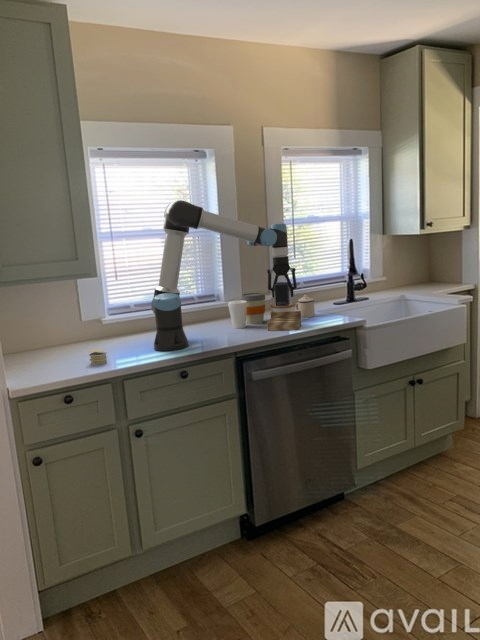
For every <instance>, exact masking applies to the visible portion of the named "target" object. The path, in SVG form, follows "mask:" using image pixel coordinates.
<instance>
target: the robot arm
mask: <svg viewBox="0 0 480 640" xmlns="http://www.w3.org/2000/svg"><path fill="white" fill-rule="evenodd" d="M163 214H164V216H163V217H164V221H163V227H162V229H163V231H164V233H165V237H164V238H165V239H164V246H163V253H162V259H161V267H160V273H159V281H158V285H157V286H156V287H155V288H154V294H153V299H152V301H151V310H152V313H153V314H154V318H155V326H156V328H155V329H156V333H155V337H154V342H153V347H154V348H153V349H154V350H155V351H159V352H160V351H161V352H171V351H178V350H183V349H185V348H188V347H189V340H188V337H187V335H186V333H185V329H184V325H183V314H182V313H183V312H182V300H181V296H180V295H181V292H180V290H179V289H178V287H179V285H178V284H179V278H180V273H181V272H180V271H181V267H182V266H181V263H182V258H183V250H184V243H185V238H186V236H187V235H188V234H189V232H190V228H191V229H194V230H199V229H202V230H206V231H210V232H214V233H217V234H221V235H225V236H228V237H232V238H235V239H239V240H243V241H246V243H247V246H249V247H257V246H260V247H261V246H262V247H271V249H272V250H271V251H272V265H273V266H272V267H271V268H270V269H269V268H268V269H267V271H266V272H267V275H268V276H267V280H268V281H267V290H269V291H271V296H272V298H274V299H275V286H274V285H275V284H276V283H277V282H278V280H279V277H281V276H284V278H285V280H286V282H287V283H288V285H289V287H290V290H289V302H290V304H292V303H293V301H292V299H293V297H294V294H295V293H294V290H296V289H297V288H298V284H297V278H296V270H297V269H296V267H290V260H289V247H288V246H289V245H288V244H289V243H288V227H287V224H286V223H285V222H284V223H273V224H271V225H270V228H266V227H262V226H258V225H255V224H251V223H247V222H244V221H241V220H238V219H236V218H235V219H234V218H230V217H227V216H224V215H220V214H217V213H213V212H209V211H206V210H205V209H204V208H203V207H202V206H198V205H195V204H193V203H190V202H188V201H185V200H181V199H180V200H179V199H178V200H175V201H172V202H170V203H169V204H168V205H167V206H166V208H165V210H164V212H163ZM289 271H290V272H291V277H292V280H291V279H290V277H289ZM272 273H274V274H275V276H274V280H273V284H272ZM292 283H293V284H292ZM275 305H276V304H275Z"/></svg>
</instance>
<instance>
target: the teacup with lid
mask: <svg viewBox="0 0 480 640" xmlns="http://www.w3.org/2000/svg"><path fill="white" fill-rule="evenodd" d="M295 309H296V311H301V319H302V318H303V319H307V318H313V317H315V316H316V315H315V314H316V313H315V299H314V298H312V297H309V296H308V294H304V295H303V297H301V298H299V299H298V300H297V302H296V303H295Z"/></svg>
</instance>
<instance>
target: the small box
mask: <svg viewBox="0 0 480 640" xmlns="http://www.w3.org/2000/svg"><path fill="white" fill-rule="evenodd" d="M274 286H275V298H274V303H275V304H276V306H288V305H289V304H290V302H289V290H290V287H289V285H288V283H287V281H283V282H282V281H281V282H280V281H279V282H278V281H277V283H276V284H275V285H274Z"/></svg>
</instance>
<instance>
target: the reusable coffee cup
mask: <svg viewBox="0 0 480 640" xmlns="http://www.w3.org/2000/svg"><path fill="white" fill-rule="evenodd" d="M265 300H266V295H265V292H247V293H243V294H241V301H247V308H246V325H247V324H248V325H257V324H262V323H264V320H265V319H264V318H265V317H264V315H265V312H266V303H265Z"/></svg>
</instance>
